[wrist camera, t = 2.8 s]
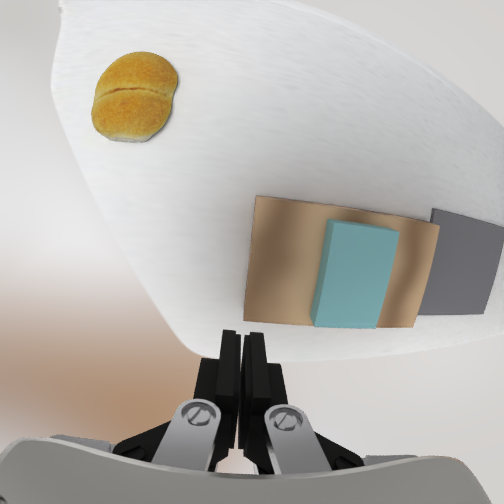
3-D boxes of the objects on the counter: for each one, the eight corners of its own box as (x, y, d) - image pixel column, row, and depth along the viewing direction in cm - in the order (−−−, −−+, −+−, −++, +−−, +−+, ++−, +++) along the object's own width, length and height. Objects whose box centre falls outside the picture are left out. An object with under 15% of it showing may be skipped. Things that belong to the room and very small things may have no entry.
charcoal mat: (503, 227, 26) (506, 228, 26) (481, 312, 29) (483, 314, 29) (432, 208, 26) (435, 208, 25) (407, 313, 29) (409, 315, 28)
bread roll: (186, 57, 22) (176, 41, 18) (167, 145, 24) (153, 140, 20) (110, 59, 21) (93, 46, 18) (92, 141, 24) (71, 138, 20)
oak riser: (426, 221, 26) (440, 225, 23) (402, 316, 29) (412, 327, 26) (256, 195, 25) (256, 197, 23) (243, 308, 28) (243, 320, 26)
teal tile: (389, 227, 24) (399, 232, 22) (368, 318, 26) (375, 328, 24) (327, 218, 23) (334, 222, 21) (309, 316, 26) (314, 326, 24)
